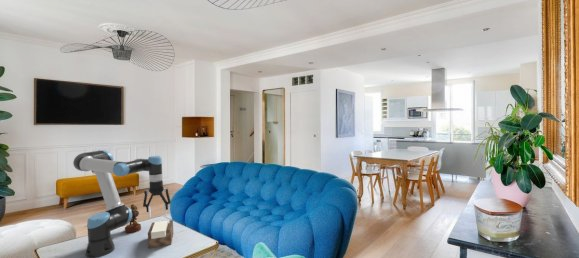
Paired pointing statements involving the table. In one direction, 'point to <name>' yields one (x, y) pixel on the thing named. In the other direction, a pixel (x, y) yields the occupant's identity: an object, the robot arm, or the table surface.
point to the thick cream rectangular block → (159, 229)
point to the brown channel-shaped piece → (163, 240)
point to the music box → (133, 221)
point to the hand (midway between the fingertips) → (157, 215)
